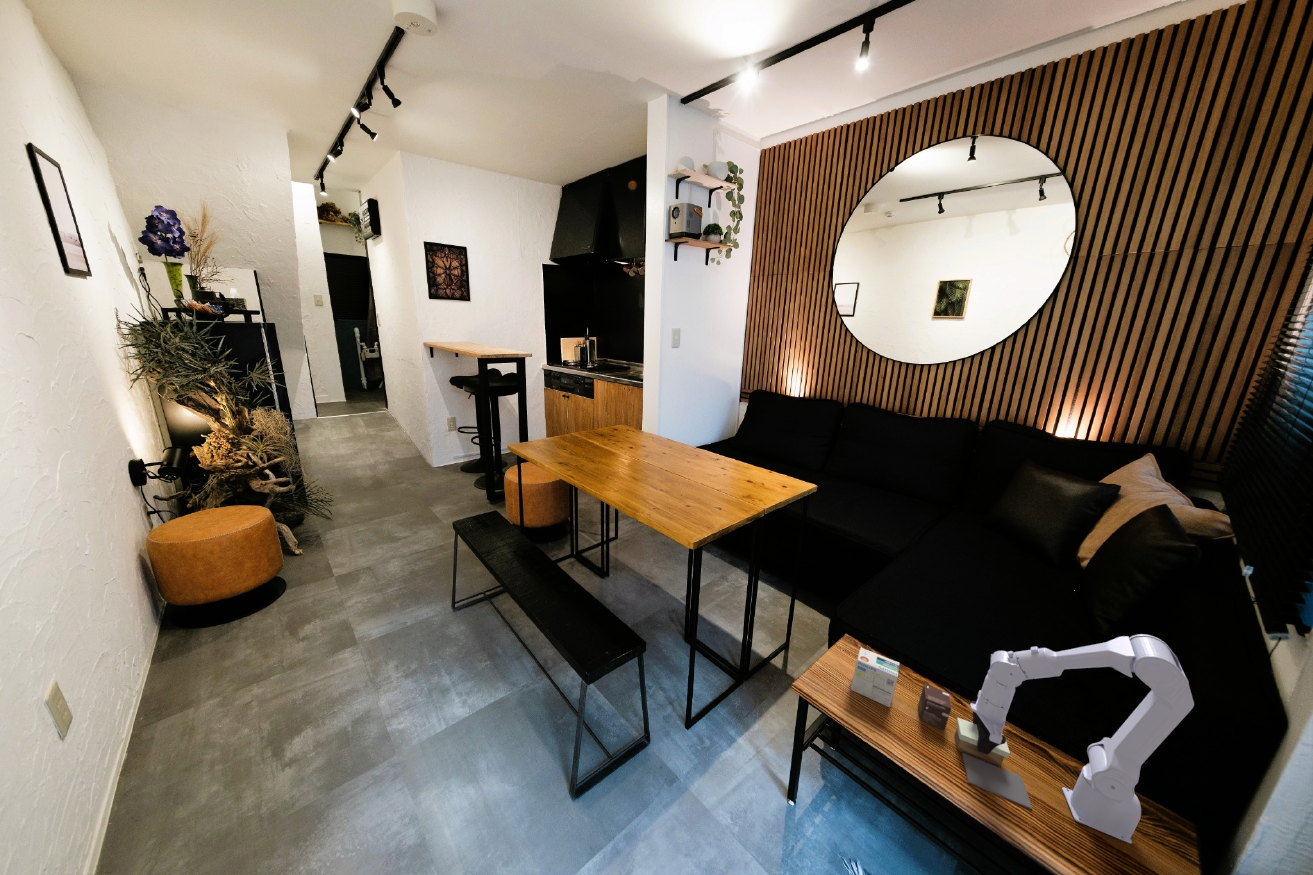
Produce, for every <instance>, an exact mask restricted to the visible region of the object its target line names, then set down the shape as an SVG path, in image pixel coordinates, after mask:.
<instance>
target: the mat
mask: <svg viewBox="0 0 1313 875" xmlns="http://www.w3.org/2000/svg"><path fill="white" fill-rule="evenodd" d="M961 755H962V760H963V764H964V769H965V774H966V779H967V783H968V784H970V785H972V786H975V787H978V788H979V789H983V790H985V791H987V792H989V793H991V794H994V795H996V796H999V797H1001V798H1003V799H1005V800H1007V801H1010V802H1013V803H1015V804H1017V805H1019V806H1022V807H1024V808H1026V809H1029V810H1031V811H1032V810H1033V806H1032V803H1031V801H1030V797H1029V795H1028V794H1029V793H1028V792H1027V788H1026V786H1025V783H1024V779H1023V776H1020V775H1019V774H1016V773H1014V772H1012V771H1008V770H1006V769H1005V768H1002V767H1001V768H1000V767H997V766H995V765H992V764H990V763H987V762H985V761H982V760H980V759H977V758H975V757H972V756H970V755H967V754H965V753H962V754H961Z"/></svg>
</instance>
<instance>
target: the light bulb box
mask: <svg viewBox="0 0 1313 875" xmlns="http://www.w3.org/2000/svg"><path fill="white" fill-rule="evenodd" d="M899 670H900V662H899V661H897V660H893V659H892V658H888V657H886V656H883V655H881V654H878V653H876V652H874V651H871V650H868V649H866V648H863V647H860V648H859V652H858V655H857V659H856V661H855V666H854V672H853V675H852V681H851V685H850V690H851V691H853V692H854V693H858V694H860V695H862V696H864V697H866V698H868V699H870V700H872V701H874V702H877V703H879V704H881V705H884V706H886V707H888V708H891V704H892V701H893V698H894V694H895V689H896V686H897V682H898V678H899Z"/></svg>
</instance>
